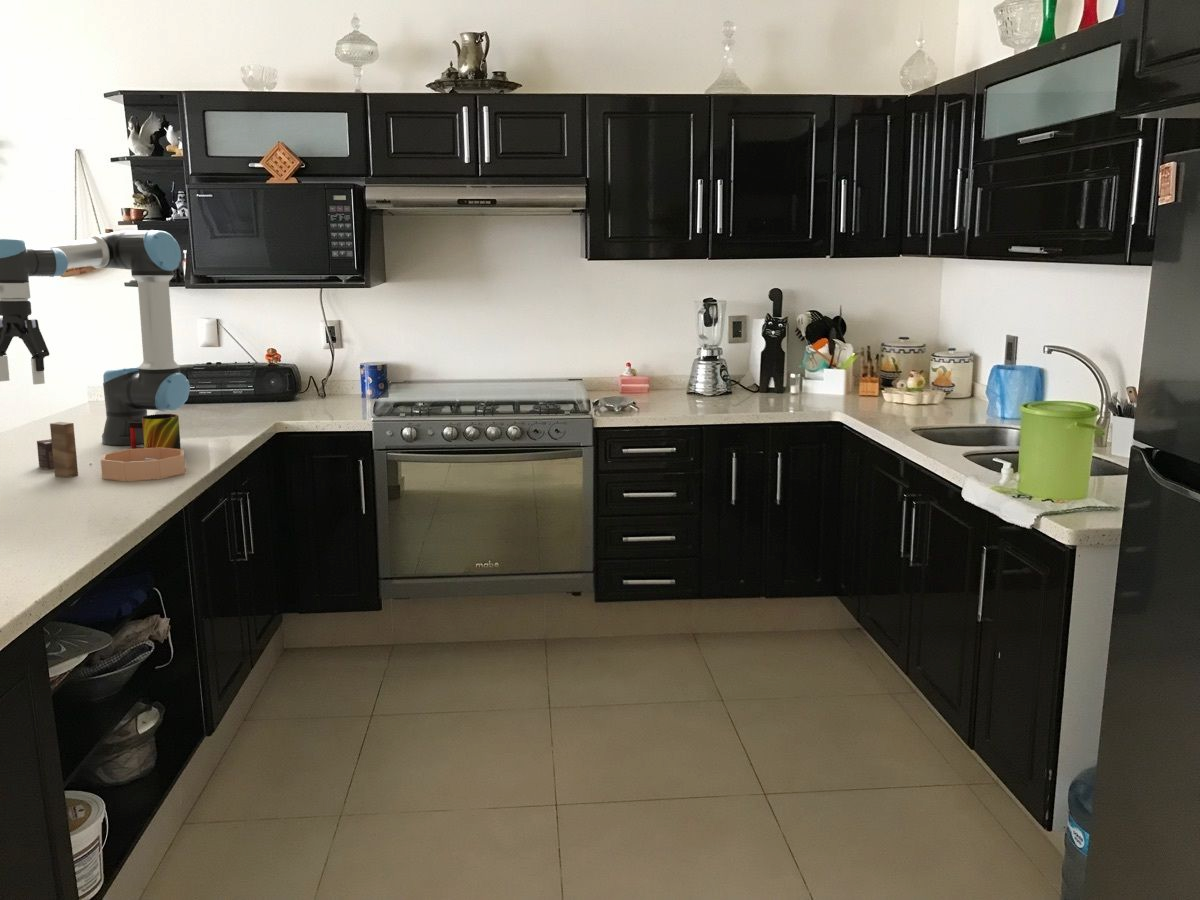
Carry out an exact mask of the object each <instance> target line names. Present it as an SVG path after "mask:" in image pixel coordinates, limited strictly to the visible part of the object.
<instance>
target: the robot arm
mask: <svg viewBox="0 0 1200 900" xmlns="http://www.w3.org/2000/svg"><path fill="white" fill-rule="evenodd" d="M180 247H181V246H180V245H179V243H178V241H177V239H176V238H174V237H173V235H172V234H171V233H169V232H167V231H164V230H154V229H150V230H147V229H145V230H140V229H139V230H119V231H113V232H109V233H103V234H96V235H90V236H87V237H86V238H85V239H81V240H80V239H79V240H69V241H59V242H57V241H56V242H49V243H47V242H46V243H37V244H26V241H25V240H24V239H22V238H0V316H2V317H0V382H8V381H10V372H9V371H10V370H9V361H8V354H7V350H8V349H9V347H10V344H11V343H12V341H13V338H17V337H18V339H21V341H22V342H23V343H24V346H25V347H26V348H27V350H28V352H29V353H30V355H31V358H30V362H31V363H30V364H31V374H32V375H31V376H32V384H33V385H42V384H46V382H45V361H44V360H45V357H49V356H50V354H51V353H50V352H49V351H50V350H49V348H48V347H47V344H46V341H45V339H44V337H43V334H42V332H41V329H40V327H39V320H37V319H29V316H31V315H32V303H31V301H30V300H29V299H31V289H30V281H29V280H30V279H29V277H50V278H51V277H52V278H54V277H60V276H63V275H64V274H65V273H66V271H68V269H75V268H86V267H93V268H94V269H120V270H128V271H129V270H130V271H131V277H132V279H134V280H135V281H136V282H137V290H138V303H139V305H138V306H139V316H140V317H139V318H140V331H141V333H140V334H141V343H142V344H141V345H142V346H141V347H142V357H143V359H142V360H143V362H142V363H141V364H140V365H139V366H132V367H124V368H115V369H109V370H106V371H104V373H103V383H102V386H103V394H104V395H103V396H104V405H105V414H106V415H105V416H106V418H105V423H104V427H103V433H102V435H101V441H102V444H104V445H108V446H109V445H110V446H131V435H130V422H140V423H142V417H143V416H147V415H148V411H149V410H151V411H161V412H167V411H169V412H173V411H177V410H179V409H181V408H182V407H183V406H184V405H185V403H186V402H187V401H188V398H189V395H190V390H191V387H190V381H189V379H187V377H186V375H184V374H183V373H181V366H180V365H179V363H177V362H176V361H175V358H174V357H175V356H174V342H173V341H174V339H173V328H172V327H173V325H172V314H171V313H172V312H171V310H172V309H171V298H170V297H171V296H170V294H171V293H170V281H171V280H172V278H174V276H175V275H174V270H176V269H177V268H178V267H179V265H180V263H181V262H182V261H181V260H182V252H181V248H180ZM135 435H136V445H141V444H144V436H143V429H142V428H135Z"/></svg>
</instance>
